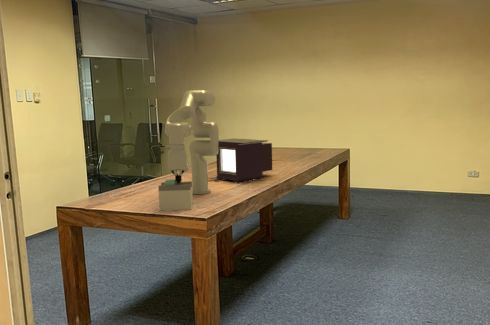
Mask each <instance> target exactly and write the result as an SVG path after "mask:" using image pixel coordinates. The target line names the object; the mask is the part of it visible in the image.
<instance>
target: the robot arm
mask: <svg viewBox="0 0 490 325" xmlns="http://www.w3.org/2000/svg"><path fill="white" fill-rule="evenodd" d="M215 100H216V97H215V94H214V93H213V92H212V91H210V90H206V89H195V90H193V89H192V90H191V89H190V90H187V91H185V93H184V94H183V96H182V100H181V103H180V106H179V108H178V109H175V110H174V111H172V113H170V115H169V116H168V117H167V119H166V122H165V125H164V133H165V135H166V136H167V137H168V141H169V142H168V143H169V144H168V145H166V149H168V151H167V172H168V173H172V174H173V175H174V176H175V181H176V182H177V183H180V182H183V181H182V175H183V174H184V173H186V172H189V168H188V167H189V165H188V164H189V162H188V155H187V154H188V153H187V150H185V137H189V136H191V135H192V137H193V138H197V139H196V140H193V141H191V142H189V145H188V150H189V155H190V166H191V181H192V192H193V195H205V194H210V193H211V192H212V190H211V189H210V188H209V175H208V173H209V172H208V162H207V160H206V159H205V157H216V155H217V154H218V147H219V140H220V139H219V136H220V135H219V134H220V132H219V125H218V123H217V122H215V121H207V113H206V111H205V109H203V107H212V106H213V105H214V104H215ZM190 118H191V123H189V122H183V121H184V120H185V121H186V120H188V119H190ZM205 138H206V139H207V140H206V139H205ZM178 171H179V173H178Z"/></svg>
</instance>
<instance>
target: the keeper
mask: <svg viewBox="0 0 490 325" xmlns="http://www.w3.org/2000/svg"><path fill="white" fill-rule="evenodd" d="M164 182H165V185H175V184H176V181H175V179H171V178H170V179H166V180H165V181H164Z"/></svg>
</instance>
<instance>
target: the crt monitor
mask: <svg viewBox="0 0 490 325" xmlns="http://www.w3.org/2000/svg"><path fill="white" fill-rule="evenodd" d="M215 157H216V180H218V181H222V180H223V181H229V180H230V181H232V183H235V182H237V183H236V184H240V183H239V182H242V183H245V182H244V181H247V182H250V181H249V180H252V181H254V180H253V179H257V180H260V179H259V178H262V179H263V177H264V175H263V173H264V172H268V171H273V143H272V142H269V140H267V139H249V138H225V139H219V147H218V154H217V155H216V156H215ZM227 179H228V180H227Z"/></svg>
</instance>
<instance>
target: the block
mask: <svg viewBox="0 0 490 325" xmlns="http://www.w3.org/2000/svg"><path fill="white" fill-rule="evenodd" d="M157 188H158V203H159V204H158V205H159V211H183V210H185V211H188V210H192V208H193V205H194V198H193V197H194V196H193V195H194V194H193V192H192V180H191V181H190V180H189V181H180V183H177V182H176V184H175V185H165V181H164V182H161V184H160V185H158V187H157Z"/></svg>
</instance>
